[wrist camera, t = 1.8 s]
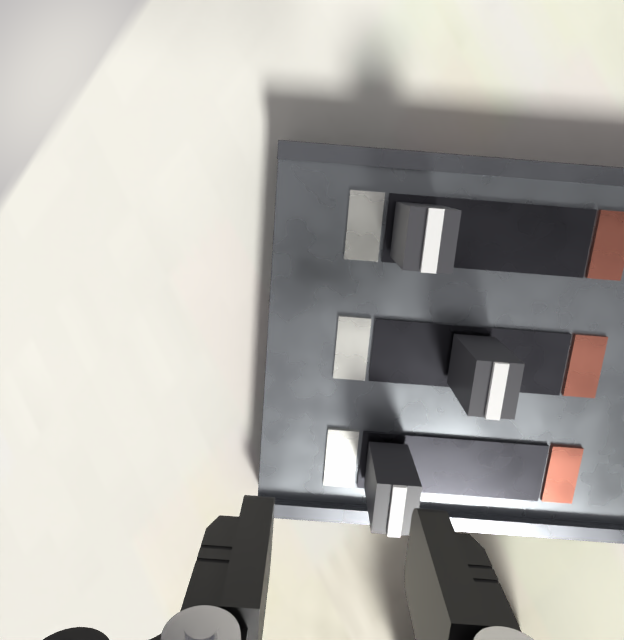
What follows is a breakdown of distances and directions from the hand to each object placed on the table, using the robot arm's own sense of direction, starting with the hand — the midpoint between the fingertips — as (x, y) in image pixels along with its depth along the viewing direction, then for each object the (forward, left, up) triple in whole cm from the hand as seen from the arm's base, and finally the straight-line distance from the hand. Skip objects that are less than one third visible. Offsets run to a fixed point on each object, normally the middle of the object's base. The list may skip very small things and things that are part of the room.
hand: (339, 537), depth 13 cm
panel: (-7, 0, -17) cm, 19 cm away
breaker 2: (-3, -6, -15) cm, 16 cm away
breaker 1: (-3, +6, -15) cm, 16 cm away
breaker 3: (-7, 0, -15) cm, 16 cm away
